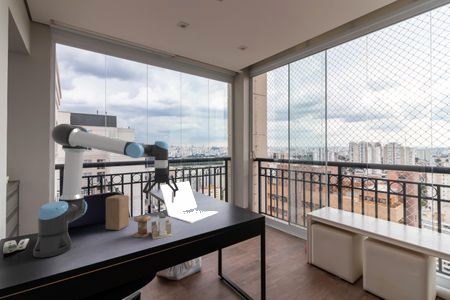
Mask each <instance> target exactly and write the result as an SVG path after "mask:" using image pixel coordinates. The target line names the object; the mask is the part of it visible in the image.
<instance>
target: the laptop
mask: <svg viewBox="0 0 450 300" xmlns="http://www.w3.org/2000/svg"><path fill="white" fill-rule="evenodd" d="M175 183H176V185H177V187H178V189H179V190H178V191H176V196H175V197H174V203H172V191H173V190H172V189H171V188H170V187H169V186H168V184H167V183H166V184H162V185H161V184H160V185H159V189H160V191H161V196H162V199H163V202H164V205H165V210H166V213H167V216H168V217H169V216H170V217H169V218H172V217H173V218H172V219H176V220H180V221H182V222H185V223H189V224H193V223H195V222H198V221H201V220H202V219H203V220H204V219H205V218H207V217H210V216H213V215H215V214H217V213H219V211H215V210H213V211H212V210H210V211H209V210H207V211H203V212H202V211H201V210H200V211H201V213H200V211H199V210H198V211H196V210H194V211H193V212H190V213H189V212H188V213H187V212H183V211H186V210H190V209H196V208H198V205H197V202H196V199H195V196H194V193H193V190H192V188H191V187H192V186H191V184H190V181H189V180H188V181H182V182H181V181H180V182H175ZM170 184H171V186H172V187H173V188H174V189H176V188H175V186H174V184H173V183H170ZM196 212H197V213H196ZM184 213H185V214H184Z"/></svg>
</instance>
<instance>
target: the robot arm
mask: <svg viewBox="0 0 450 300" xmlns="http://www.w3.org/2000/svg"><path fill="white" fill-rule="evenodd" d="M51 137H52V140H53V142H55V143H56V144H57V145H61V150H62V151H64V167H63V181H62V194H61V195H60V196H59V197H58V200H57V201H52V202H48V203H45V204H44V205H41V207H39V208H38V214H37V219H38V223H37V224H38V227H37V228H38V231H37V233H38V236H37V237H38V238H37V241H36V243H35V246H34V248H33V256H34V257H35V258H49V257H54V256H57V255H61V254H63V253H65V252H67V251H69V250H71V249H72V246H73V243H72V239H71V237H70V234H69V232H68V231H69V228H68V226H69V224H70V223H72V222H74V221H75V220H78V219H80V218H82V217H83V216H84V215H85V214H86V212H87V209H88V203H87V201H85V199H84V195H83V194H82V185H83V184H82V182H83V181H82V180H83V168H84V165H83V163H84V153H85V152H86V151H87V149H88V148H89V149H94V150H98V151H102V152H108V153H112V154H116V155H122V156H126V157H130V158H132V159H139V158H154V175H152V176H151V175H148V179H147V182H146V184H145V186H144V188H143V189H142V193H143V194H145V200H147V206H150V205H151V204H150V203H151V202H150V201H151V199H150V197H151V196H150V195H151V194H150V192H151V191H152V190H153V188H154V187H155V186H156V185H157V184H160V185H161V184H165V183H166V184H168V186H169V187H170V188H171V189H172V190H173V191H172V203H174V197H175V196H176V191H178V190H179V189H178V187H177V185H176V183H177V182H176V181H175V179H174V175H172V174H171V175H169V168H168V167H169V143H168V142H167V141H166V140H165V141H163V140H155V141H154V143H153V144H147V143H146V144H144V143H136V142H131V141H127V140H123V139H119V138H114V137H110V136H104V135H101V134H97V133H96V134H95V133H91V132H90V131H89V130H88V129H87V128H85V127H83V126H81V125H74V124H69V123H60V124H57V125H55V126H54V127H53V128H52V131H51ZM153 179H154V181H153ZM168 179H170V180H171V182H172V183H170V182H169V181H168ZM151 181H153V183H152V184H151V185H150V183H151ZM171 184H174V186H175V188H176V189H174V188H173V187H172V186H171ZM149 185H150V187H149ZM148 187H149V188H148Z"/></svg>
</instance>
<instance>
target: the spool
mask: <svg viewBox="0 0 450 300" xmlns="http://www.w3.org/2000/svg"><path fill="white" fill-rule="evenodd" d="M151 218H152V217H151V215H139V216H135V217H134V218H133V221H134V222H136V223H137V231H136V232H134V235H133V237H134V238H136V239H143V238H148V237H150V236H152V233H151V231H150V230H148V222H149V221H151Z"/></svg>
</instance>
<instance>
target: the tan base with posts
mask: <svg viewBox="0 0 450 300" xmlns="http://www.w3.org/2000/svg"><path fill="white" fill-rule="evenodd" d="M150 232H151V237H152V240H156V239H164V238H169V237H172V223H171V222H170V220H169V219H165V236H159V233H158V224H157V221H151V231H150Z"/></svg>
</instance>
